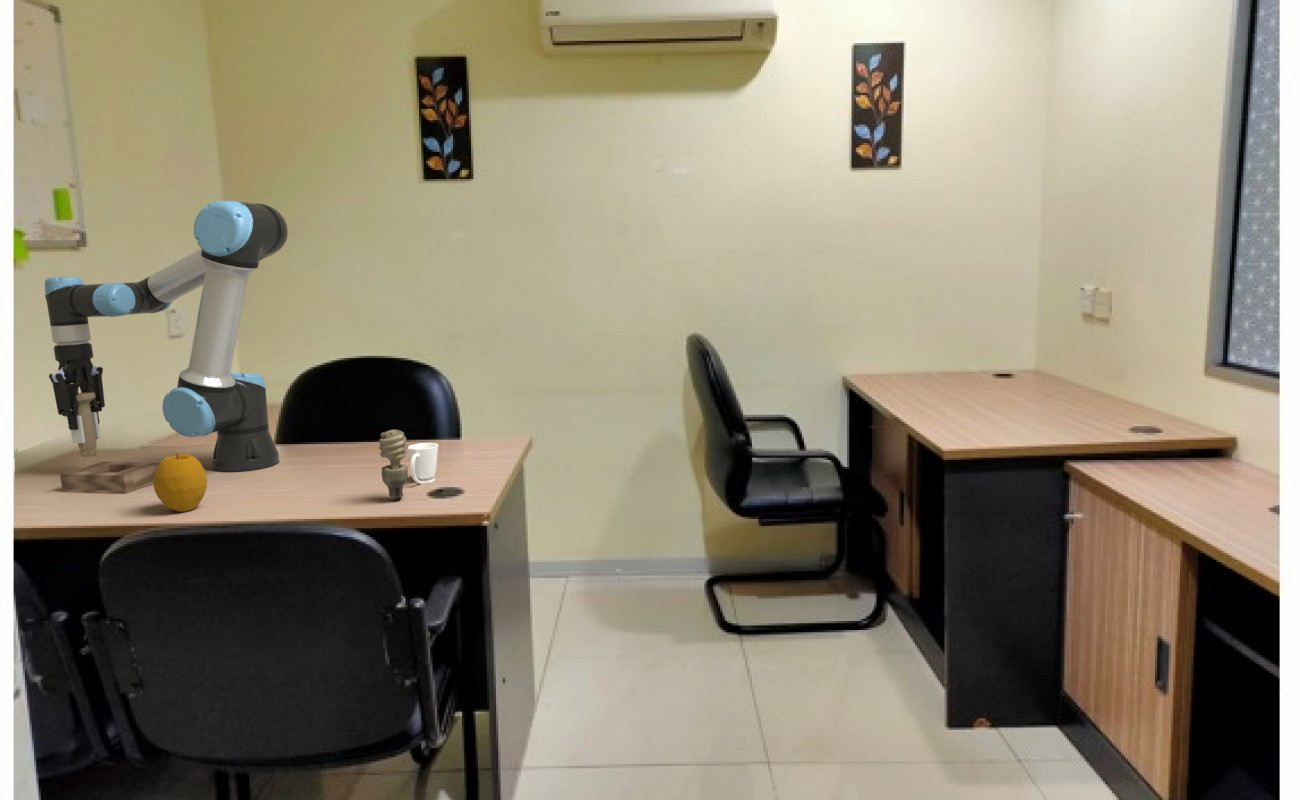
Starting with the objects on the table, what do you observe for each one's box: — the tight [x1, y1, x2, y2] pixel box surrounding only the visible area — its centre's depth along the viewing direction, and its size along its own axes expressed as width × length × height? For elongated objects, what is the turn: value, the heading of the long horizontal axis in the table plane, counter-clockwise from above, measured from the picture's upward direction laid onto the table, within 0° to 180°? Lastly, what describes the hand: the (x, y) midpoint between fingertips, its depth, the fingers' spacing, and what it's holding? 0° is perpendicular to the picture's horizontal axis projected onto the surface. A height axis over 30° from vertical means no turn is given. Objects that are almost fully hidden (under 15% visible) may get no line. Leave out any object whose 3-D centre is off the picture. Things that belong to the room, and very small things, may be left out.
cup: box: [407, 442, 439, 485], centre depth 195 cm, size 7×10×8 cm
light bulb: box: [378, 429, 409, 501], centre depth 180 cm, size 6×6×15 cm
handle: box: [76, 392, 98, 458], centre depth 208 cm, size 5×6×15 cm
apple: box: [152, 453, 208, 513], centre depth 177 cm, size 10×10×12 cm
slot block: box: [59, 461, 160, 494], centre depth 198 cm, size 16×12×4 cm
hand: (86, 440), depth 208 cm, fingers closed on handle, 4 cm apart
